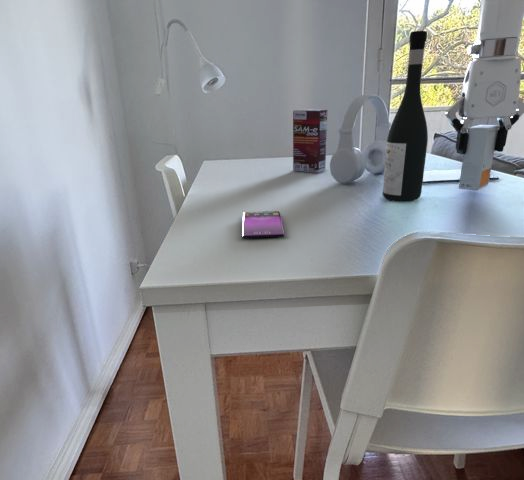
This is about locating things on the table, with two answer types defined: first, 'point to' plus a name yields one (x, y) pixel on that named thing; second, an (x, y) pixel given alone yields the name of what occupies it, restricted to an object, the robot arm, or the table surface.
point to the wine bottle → (408, 133)
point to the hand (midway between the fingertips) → (479, 151)
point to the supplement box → (309, 140)
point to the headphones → (352, 159)
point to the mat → (446, 176)
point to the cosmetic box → (478, 157)
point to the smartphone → (262, 224)
